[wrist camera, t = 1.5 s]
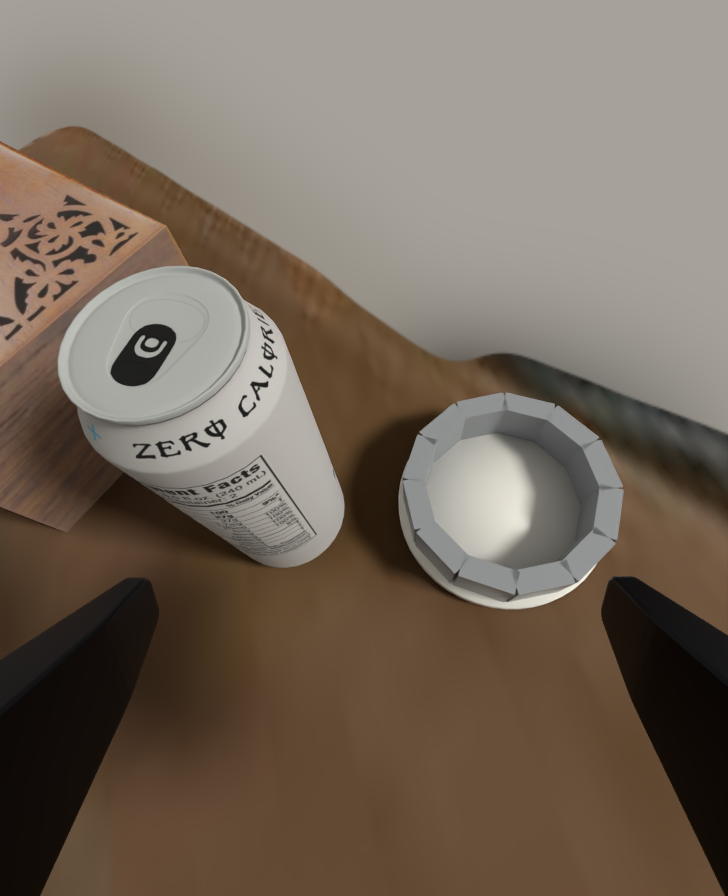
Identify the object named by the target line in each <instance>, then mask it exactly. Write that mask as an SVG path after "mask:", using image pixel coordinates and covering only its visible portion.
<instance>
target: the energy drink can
mask: <svg viewBox="0 0 728 896" xmlns="http://www.w3.org/2000/svg"><path fill="white" fill-rule="evenodd" d="M57 361H58V376H59V379H60V382H61V385H62V388H63V390H64V392H65V393H66V395H67V396H68V397H69V399H70V400H71V402H72V403H73V404H75V405H76V406H77V412H78V417H79V420H80V423H81V426H82V428H83V431H84V434H85V436H86V438H87V439H88V441H89V442H90V444H91V445H92V447H93V448H94V450H95V451H97V452H98V453H99V454H100V455H101V456H102V457H104V458H105V459H106V460H107V461H108V462H110V463H111V464H113V465H114V466H116V467H117V468H119V469H120V470H122V471H123V472H125V473H126V474H128V475H129V476H131V477H132V478H134V479H135V480H137V481H138V482H139V483H141V484H142V485H144V486H145V487H147V488H148V489H150V490H151V491H153V492H154V493H156V494H157V495H159V496H160V497H162V498H163V499H165V500H166V501H168V502H169V503H171V504H172V505H174V506H175V507H177V508H178V509H179V510H181V511H182V512H184V513H185V514H187V515H188V516H190V517H191V518H193V519H194V520H196V521H197V522H199V523H200V524H202V525H203V526H205V527H206V528H208V529H209V530H211V531H212V532H214V533H215V534H216V535H218V536H219V537H221V538H222V539H224V540H225V541H227V542H228V543H230V544H231V545H233V546H234V547H236V548H237V549H239V550H240V551H242V552H243V553H245V554H246V555H248V556H249V557H251V558H252V559H254V560H256V561H257V562H259V563H261V564H264V565H267V566H271V567H281V568H287V567H293V566H298V565H301V564H304V563H307V562H309V561H311V560H312V559H314V558H316V557H317V556H319V555H320V554H321V553H322V552H323V551H325V550H326V549H327V548H328V547H329V546H330V544H331V543H332V542H333V540H334V539H335V538H336V536H337V534H338V532H339V530H340V528H341V524H342V521H343V517H344V506H345V505H344V497H343V493H342V490H341V487H340V485H339V482H338V479H337V477H336V474H335V472H334V469H333V466H332V464H331V461H330V458H329V456H328V453H327V451H326V448H325V445H324V443H323V440H322V438H321V435H320V432H319V430H318V427H317V425H316V422H315V419H314V417H313V414H312V411H311V409H310V406H309V404H308V401H307V398H306V396H305V393H304V391H303V388H302V385H301V383H300V380H299V378H298V375H297V372H296V370H295V367H294V365H293V362H292V359H291V357H290V354H289V351H288V349H287V346H286V344H285V341H284V338H283V336H282V334H281V332H280V331H279V329H278V328H277V326H276V325H275V323H274V322H273V321H272V320H271V319H270V318H269V317H268V316H267V315H266V314H265V313H264V312H263V311H261V310H260V309H259V308H257V307H255V306H253V305H252V304H250V303H248V302H246V301H245V300H243V299H242V297H241V296H240V294H239V293H238V291H237V289H236V288H235V287H234V286H232V285H231V284H230V283H229V282H228V281H227V280H226V279H224V278H222V277H221V276H219V275H217V274H215V273H213V272H211V271H207V270H204V269H201V268H197V267H189V266H165V267H159V268H154V269H149V270H146V271H142V272H139V273H136V274H133V275H131V276H129V277H126V278H124V279H122V280H120V281H118V282H116V283H114V284H113V285H111V286H110V287H108V288H106V289H105V290H103V291H102V292H100V293H99V294H98V295H97V296H95V297H94V298H93V299H92V300H91V301H90V302H88V303H87V304H86V305H85V307H84V308H83V309H82V310H81V311H80V312H79V313H78V314H77V315H76V317H75V318H74V320H73V321H72V323H71V324H70V326H69V327H68V329H67V331H66V333H65V335H64V338H63V340H62V342H61V345H60V350H59V355H58V360H57Z"/></svg>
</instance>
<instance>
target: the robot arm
mask: <svg viewBox="0 0 728 896" xmlns="http://www.w3.org/2000/svg"><path fill="white" fill-rule="evenodd" d="M601 616H602V621H603V624H604V627H605V629H606V632H607V635H608V638H609V640H610V643H611V646H612V649H613V652H614V654H615V657H616V660H617V663H618V665H619V668H620V671H621V674H622V676H623V679H624V682H625V685H626V687H627V690H628V693H629V695H630V698H631V700H632V702H633V705H634V707H635V709H636V711H637V713H638V715H639V718H640V720H641V722H642V724H643V726H644V728H645V730H646V732H647V734H648V736H649V738H650V740H651V743H652V745H653V747H654V749H655V751H656V753H657V755H658V757H659V759H660V761H661V763H662V765H663V768H664V770H665V772H666V774H667V776H668V778H669V780H670V782H671V784H672V786H673V788H674V790H675V793H676V795H677V797H678V799H679V801H680V803H681V805H682V807H683V809H684V811H685V813H686V815H687V818H688V820H689V822H690V824H691V826H692V828H693V830H694V832H695V834H696V836H697V838H698V840H699V843H700V845H701V847H702V849H703V851H704V853H705V855H706V857H707V859H708V861H709V863H710V865H711V868H712V870H713V872H714V874H715V876H716V878H717V880H718V882H719V884H720V886H721V888H722V890H723V893H724V895H725V896H728V635H727V634H725V633H723V632H722V631H720V630H719V629H717V628H715V627H714V626H712V625H711V624H709V623H708V622H706V621H704V620H703V619H701V618H700V617H698V616H696V615H695V614H693V613H692V612H690V611H688V610H687V609H685V608H684V607H682V606H680V605H679V604H677V603H676V602H674V601H672V600H671V599H669V598H668V597H666V596H665V595H663V594H661V593H660V592H658V591H657V590H655V589H653V588H652V587H650V586H649V585H647V584H645V583H644V582H642V581H641V580H639V579H637V578H635V577H632V576H615V577H612V578H610V580H609V581H608V584H607V588H606V592H605V596H604V600H603V604H602V608H601ZM158 617H159V609H158V605H157V601H156V598H155V594H154V591H153V588H152V584H151V582H150V581H149V579H147V578H127V579H125V580H123V581H121V582H120V583H118V584H117V585H115V586H114V587H112V588H111V589H109V590H107V591H106V592H104V593H103V594H101V595H100V596H98V597H97V598H95V599H93V600H92V601H90V602H89V603H87V604H86V605H84V606H83V607H81V608H80V609H78V610H76V611H75V612H73V613H72V614H70V615H69V616H67V617H66V618H64V619H63V620H61V621H59V622H58V623H56V624H55V625H53V626H52V627H50V628H49V629H47V630H46V631H44V632H42V633H41V634H39V635H38V636H36V637H35V638H33V639H32V640H30V641H29V642H27V643H25V644H24V645H22V646H21V647H19V648H18V649H16V650H15V651H13V652H11V653H10V654H8V655H7V656H5V657H4V658H2V659H1V660H0V896H40V895H41V893H42V890H43V888H44V886H45V884H46V882H47V880H48V877H49V875H50V873H51V871H52V869H53V867H54V864H55V862H56V860H57V858H58V856H59V854H60V851H61V849H62V847H63V845H64V843H65V840H66V838H67V836H68V834H69V832H70V830H71V827H72V825H73V823H74V821H75V819H76V817H77V814H78V812H79V810H80V808H81V806H82V804H83V801H84V799H85V797H86V795H87V793H88V790H89V788H90V786H91V784H92V782H93V780H94V777H95V775H96V773H97V771H98V769H99V767H100V764H101V762H102V760H103V758H104V756H105V753H106V751H107V749H108V747H109V745H110V743H111V740H112V738H113V736H114V734H115V732H116V730H117V727H118V725H119V723H120V721H121V719H122V717H123V714H124V712H125V710H126V708H127V705H128V703H129V701H130V699H131V696H132V694H133V691H134V688H135V686H136V683H137V680H138V677H139V674H140V671H141V668H142V665H143V663H144V660H145V657H146V654H147V651H148V648H149V645H150V642H151V639H152V636H153V633H154V631H155V628H156V625H157V622H158Z"/></svg>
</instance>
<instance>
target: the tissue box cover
mask: <svg viewBox="0 0 728 896" xmlns="http://www.w3.org/2000/svg"><path fill="white" fill-rule="evenodd" d="M165 266H188V264H187V262H186V260H185V258H184V256H183V255H182V253H181V251H180V249H179V247H178V246H177V244H176V242H175V240H174V238H173V236H172V235H171V233H170V231H169V229H168V227H167V226H166V225H164V224H162V223H160V222H158V221H156V220H154V219H152V218H150V217H148V216H146V215H144V214H142V213H140V212H138V211H137V210H135V209H133V208H131V207H129V206H127V205H125V204H123V203H121V202H119V201H117V200H115V199H113V198H111V197H109V196H107V195H105V194H103V193H101V192H99V191H97V190H95V189H93V188H91V187H89V186H87V185H85V184H83V183H81V182H79V181H77V180H75V179H73V178H71V177H69V176H67V175H65V174H63V173H61V172H59V171H58V170H56V169H54V168H52V167H50V166H48V165H46V164H44V163H42V162H40V161H38V160H36V159H34V158H32V157H30V156H28V155H26V154H24V153H22V152H20V151H18V150H16V149H14V148H12V147H10V146H8V145H6V144H4V143H2V142H0V507H2V508H4V509H7V510H9V511H12V512H15V513H17V514H20V515H22V516H25V517H28V518H30V519H33V520H35V521H38V522H40V523H43V524H46V525H48V526H51V527H53V528H56V529H58V530H61V531H64V532H66V533H67V532H68V531H69V530H70V529H71V527H72V526H73V525H74V524H75V523H76V522H77V521H78V520H79V519H80V518H81V517H82V516H83V515H84V514H85V513H86V512H87V511H88V510H89V509H90V508H91V507H92V506H93V505H94V503H95V502H96V501H97V500H98V499H99V498H100V497H101V496H102V495H103V494H104V493H105V492H106V491H107V490H108V489H109V488H110V487H111V486H112V485H113V484H114V483H115V482H116V481H117V479H118V478H119V477H120V476H121V475H122V474H123V473H124V472H123V471H122V470H120V469H119V468H117V467H116V466H114V465H113V464H111V463H110V462H108V461H107V460H106V459H105V458H104V457H102V456H101V455H100V454H99V453H98V452H97V451H95V450H94V448H93V447H92V445H91V444H90V442H89V441H88V439H87V438H86V436H85V434H84V431H83V428H82V426H81V423H80V420H79V417H78V412H77V406H76V405H75V404H73V403H72V402H71V400H70V399H69V397H68V396H67V395H66V393H65V392H64V390H63V388H62V385H61V382H60V379H59V376H58V361H57V360H58V355H59V350H60V345H61V342H62V340H63V338H64V335H65V333H66V331H67V329H68V327H69V326H70V324H71V323H72V321H73V320H74V318H75V317H76V315H77V314H78V313H79V312H80V311H81V310H82V309H83V308H84V307H85V305H86V304H87V303H88V302H90V301H91V300H92V299H93V298H94V297H95V296H97V295H98V294H99V293H100V292H102V291H103V290H105V289H106V288H108V287H110V286H111V285H113V284H114V283H116V282H118V281H120V280H122V279H124V278H126V277H129V276H131V275H133V274H136V273H139V272H142V271H146V270H149V269H154V268H159V267H165Z"/></svg>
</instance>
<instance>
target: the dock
mask: <svg viewBox="0 0 728 896" xmlns="http://www.w3.org/2000/svg"><path fill="white" fill-rule="evenodd" d="M554 406H555V404H553V403H549V402H544V401H540V400H536V399H532V398H527V397H523V396H519V395H515V394H511V393H506V395H505V397H504V394H503V392H502V393H497V394H493V395H488V396H483V397H478V398H473V399H468V400H463V401H459V402H457V403H456V405H455V404H454V403H453V404H452V405H451V406H450V407H449V408H447V409H446V410H445V411H444V412H443V413H441V414H440V415H439V416H438V417H437V418H435V419H434V420H433V421H432V422H431V423H429V424H428V425H427V426H426V427H425V428H423V429H422V430H421V431H420V432H419V435H418V434H417V437H416V440H415V443H414V446H413V449H412V452H411V455H410V458H409V460H408V462H407V464H406V467H405V469H404V471H403V474H402V478H401V482H400V488H399V496H398V499H399V517H400V523H401V528H402V531H403V534H404V538H405V540H406V542H407V545H408V547H409V549H410V551H411V553H412V554H413V556H414V558H415V559H416V561H417V562H418V564H419V565H420V566H421V567H422V568H423V570H424V571H425V572H426V573H427V574H428V575H429V576H430V577H431V578H432V579H433V580H434V581H435V582H436V583H437V584H439V585H440V586H441V587H443V588H444V589H445V590H447V591H448V592H450V593H452V594H453V595H455V596H457V597H459V598H461V599H463V600H465V601H468V602H470V603H473V604H476V605H479V606H483V607H487V608H492V609H500V610H520V609H528V608H533V607H537V606H540V605H544V604H547V603H549V602H551V601H553V600H556V599H558V598H560V597H562V596H564V595H565V594H567V593H569V592H570V591H572V590H573V589H575V588H576V587H577V586H578V585H579V584H580V583H581V582H583V581H584V580H585V579H586V577H587V576H588V575H589V574H590V573H591V571H592V570H593V569H594V567H595V565H596V564H597V562H598V561H599V560H600V559H601V558H602V557H603V556H604V555H605V554H606V553H607V552H608V551H609V550H610V549H611V548H612V547H613V546H614V545H615V544H616V543H615V541H617V538H618V530H619V523H620V515H621V507H622V499H623V492H624V490H622V489H621V488H622V487H623V485H622V483H621V481H620V479H619V477H618V475H617V472H616V470H615V468H614V466H613V464H612V462H611V460H610V458H609V455H608V453H607V451H606V449H605V447H604V445H603V443H602V440H599V441H596V440H597V439H598V438H599V437H598V436H597V435H595V434H594V433H593V432H592V431H590V430H589V429H588V428H586V427H585V426H584V425H583V424H581V423H580V422H579V421H577V420H576V419H575V418H574V417H572V416H571V415H570V414H568V413H567V412H566V411H565V410H563V409H562V408H561V407H559V406H557V407H556V408H555V409H554Z"/></svg>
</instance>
